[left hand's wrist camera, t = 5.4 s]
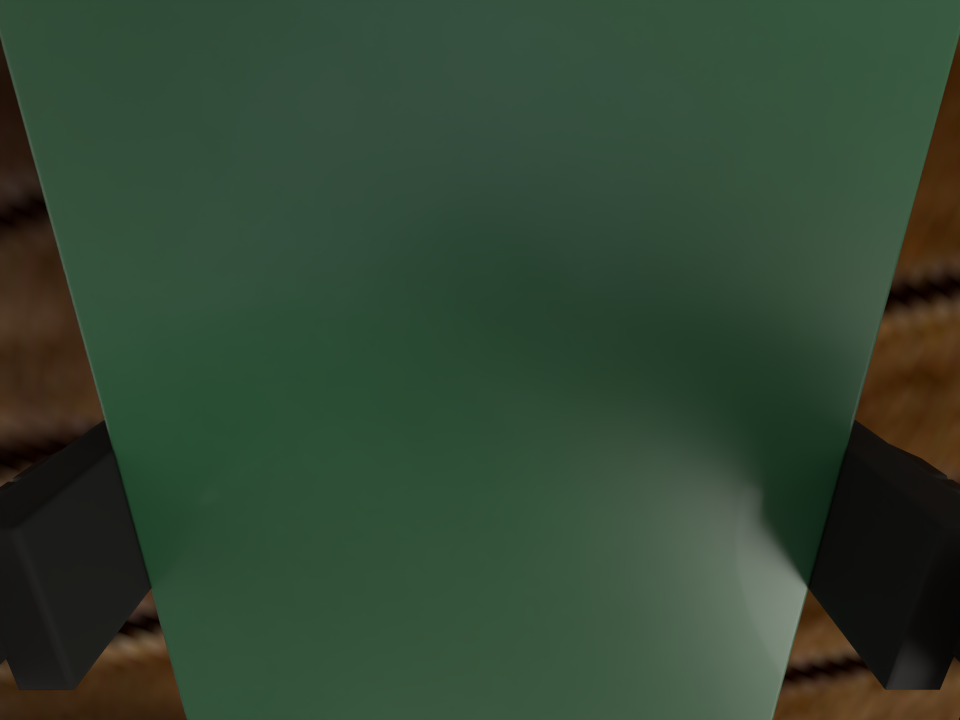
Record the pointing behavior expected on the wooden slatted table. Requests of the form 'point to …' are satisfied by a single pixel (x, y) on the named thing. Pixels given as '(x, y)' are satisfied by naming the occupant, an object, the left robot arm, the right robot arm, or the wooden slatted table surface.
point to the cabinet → (479, 330)
